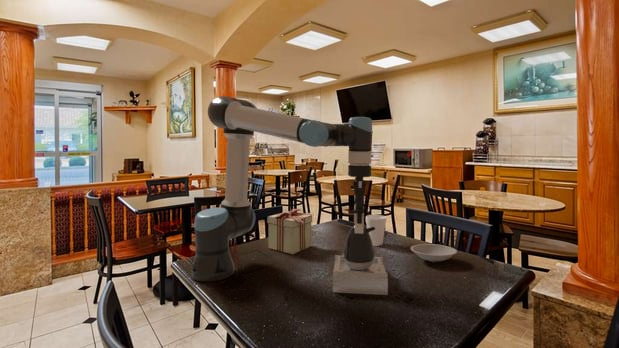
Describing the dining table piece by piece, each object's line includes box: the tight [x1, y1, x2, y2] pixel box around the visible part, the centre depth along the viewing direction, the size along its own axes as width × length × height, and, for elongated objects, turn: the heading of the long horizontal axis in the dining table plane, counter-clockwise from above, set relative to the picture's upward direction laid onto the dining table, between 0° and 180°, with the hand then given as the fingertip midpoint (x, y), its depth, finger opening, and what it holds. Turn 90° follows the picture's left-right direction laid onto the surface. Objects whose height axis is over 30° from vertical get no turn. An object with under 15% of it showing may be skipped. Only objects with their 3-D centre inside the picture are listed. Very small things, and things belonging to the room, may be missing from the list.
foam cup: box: [365, 214, 387, 247], centre depth 150 cm, size 10×9×13 cm
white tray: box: [332, 252, 389, 296], centre depth 110 cm, size 17×23×8 cm
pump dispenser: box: [343, 224, 375, 271], centre depth 107 cm, size 10×10×15 cm
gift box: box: [266, 208, 313, 255], centre depth 145 cm, size 17×18×17 cm
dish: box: [410, 243, 458, 263], centre depth 126 cm, size 18×14×5 cm
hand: (358, 227), depth 106 cm, fingers open, 13 cm apart
